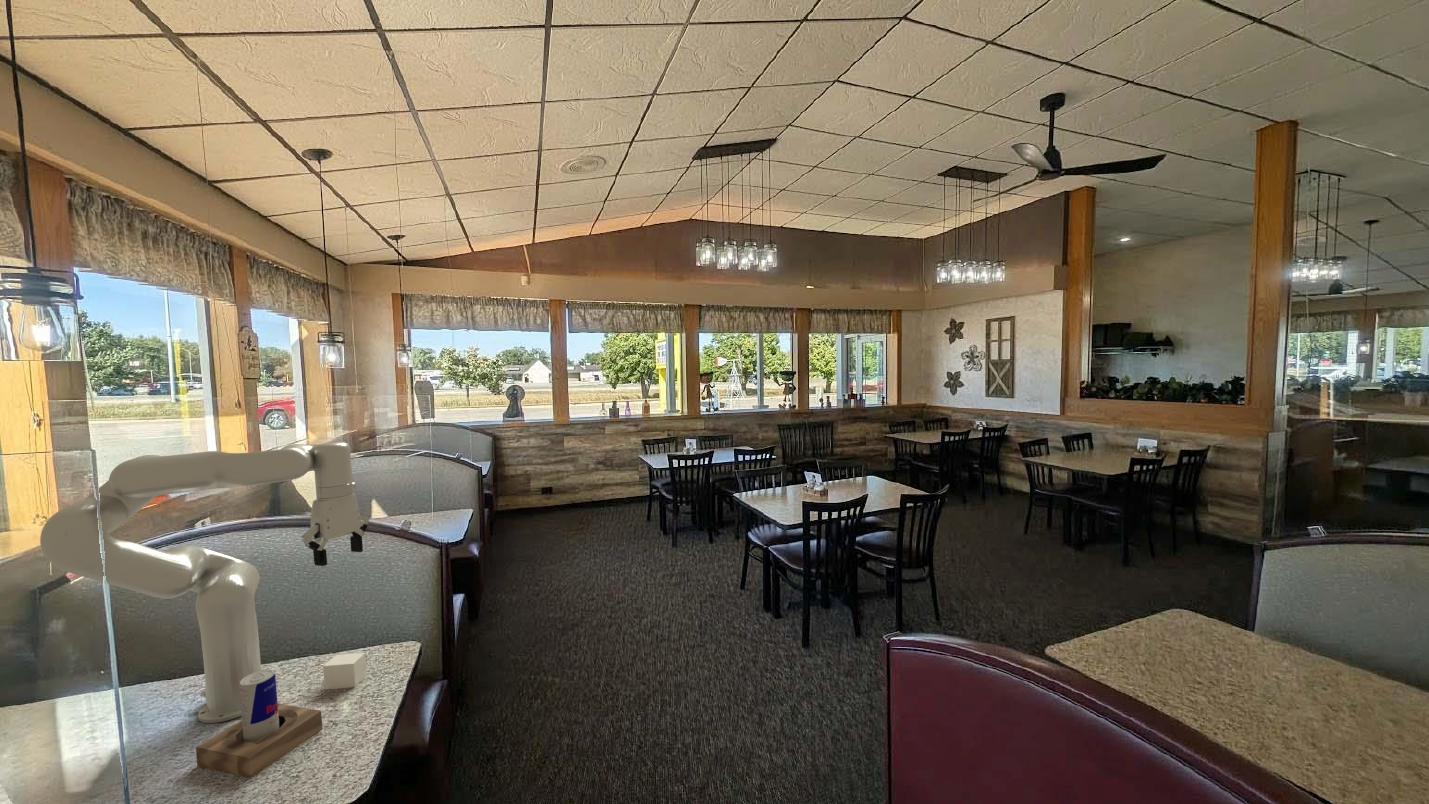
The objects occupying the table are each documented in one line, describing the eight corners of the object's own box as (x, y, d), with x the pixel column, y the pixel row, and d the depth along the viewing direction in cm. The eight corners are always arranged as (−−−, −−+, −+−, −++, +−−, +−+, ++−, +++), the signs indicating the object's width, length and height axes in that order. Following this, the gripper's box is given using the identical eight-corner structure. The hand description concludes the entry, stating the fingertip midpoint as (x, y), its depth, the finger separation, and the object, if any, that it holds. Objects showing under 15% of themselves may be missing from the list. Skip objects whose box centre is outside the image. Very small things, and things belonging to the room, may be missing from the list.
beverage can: (259, 758, 104) (253, 686, 103) (237, 754, 105) (231, 683, 104) (287, 738, 109) (282, 670, 109) (266, 735, 110) (260, 667, 110)
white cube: (324, 689, 127) (323, 666, 126) (337, 678, 132) (335, 655, 131) (355, 687, 127) (353, 663, 127) (366, 675, 132) (365, 652, 132)
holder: (197, 766, 102) (195, 747, 102) (273, 719, 116) (271, 702, 115) (250, 778, 99) (249, 757, 98) (322, 728, 112) (321, 710, 112)
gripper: (354, 483, 140) (358, 546, 141) (287, 499, 123) (293, 570, 124) (377, 484, 138) (381, 547, 139) (312, 500, 121) (317, 572, 122)
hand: (339, 558), depth 131 cm, fingers open, 9 cm apart
